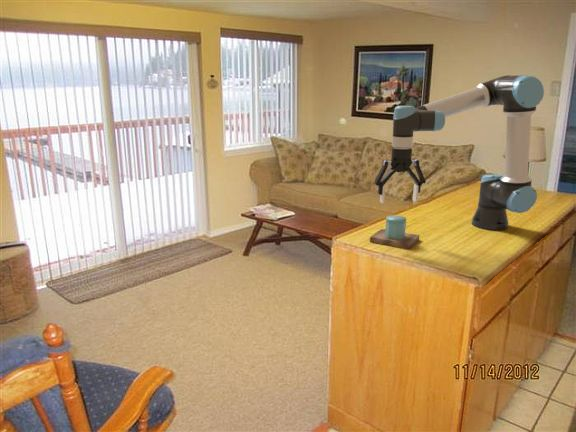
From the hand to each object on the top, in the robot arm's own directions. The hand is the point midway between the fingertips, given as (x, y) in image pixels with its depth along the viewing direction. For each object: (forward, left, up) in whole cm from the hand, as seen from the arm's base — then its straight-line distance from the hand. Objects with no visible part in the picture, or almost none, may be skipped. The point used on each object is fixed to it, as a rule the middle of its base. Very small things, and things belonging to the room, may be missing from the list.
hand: (398, 202), depth 189 cm
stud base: (0, 0, -16) cm, 16 cm away
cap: (0, 0, -14) cm, 14 cm away
